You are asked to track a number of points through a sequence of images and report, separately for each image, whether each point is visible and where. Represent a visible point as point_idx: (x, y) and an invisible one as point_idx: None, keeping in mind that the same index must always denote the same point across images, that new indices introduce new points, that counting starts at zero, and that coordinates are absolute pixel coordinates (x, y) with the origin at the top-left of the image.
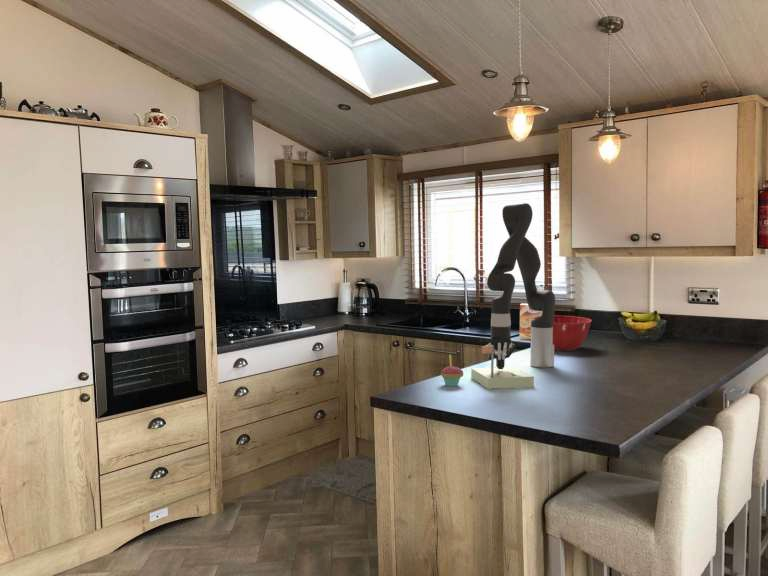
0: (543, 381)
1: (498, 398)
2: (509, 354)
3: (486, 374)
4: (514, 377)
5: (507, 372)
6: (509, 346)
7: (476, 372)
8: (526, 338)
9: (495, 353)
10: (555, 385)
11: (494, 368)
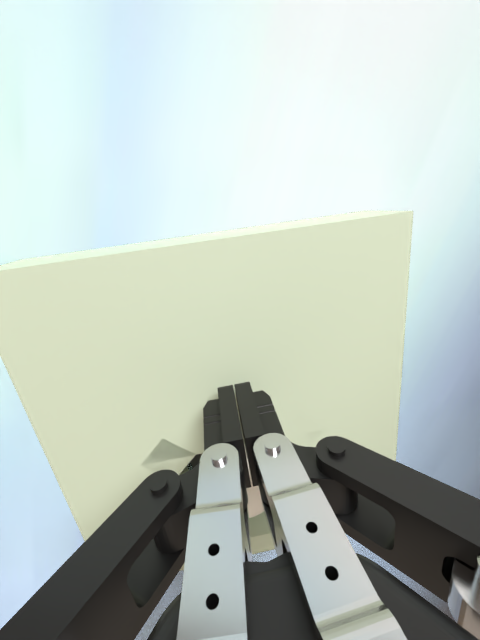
0: (468, 359)
1: (149, 633)
2: (367, 523)
3: (105, 501)
4: (274, 547)
5: (254, 515)
6: (465, 613)
7: (30, 403)
8: None
9: (195, 509)
10: (472, 438)
11: (206, 293)
